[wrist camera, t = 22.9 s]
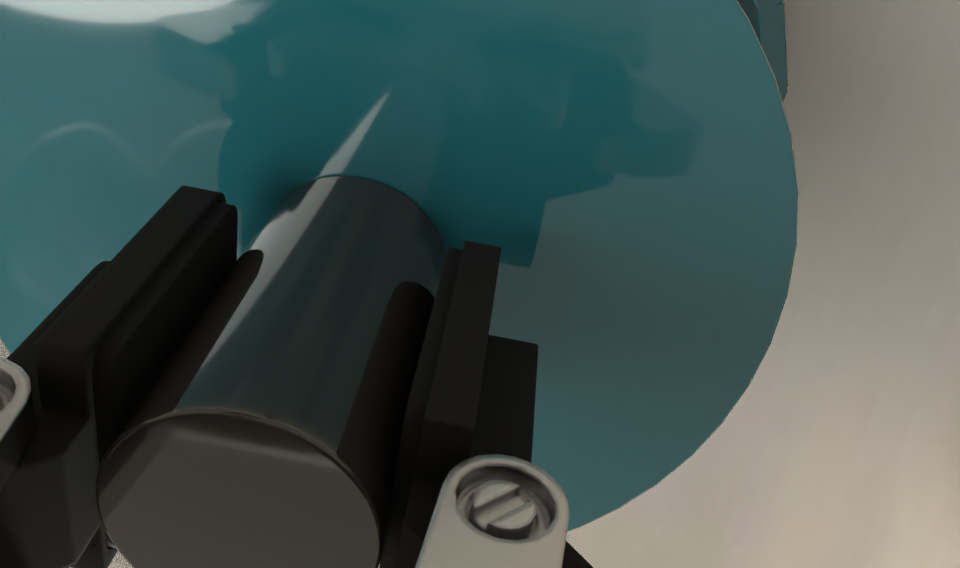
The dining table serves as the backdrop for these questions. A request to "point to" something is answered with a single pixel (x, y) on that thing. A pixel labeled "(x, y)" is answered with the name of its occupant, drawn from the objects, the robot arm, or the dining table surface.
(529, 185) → the lid
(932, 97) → the dining table surface
